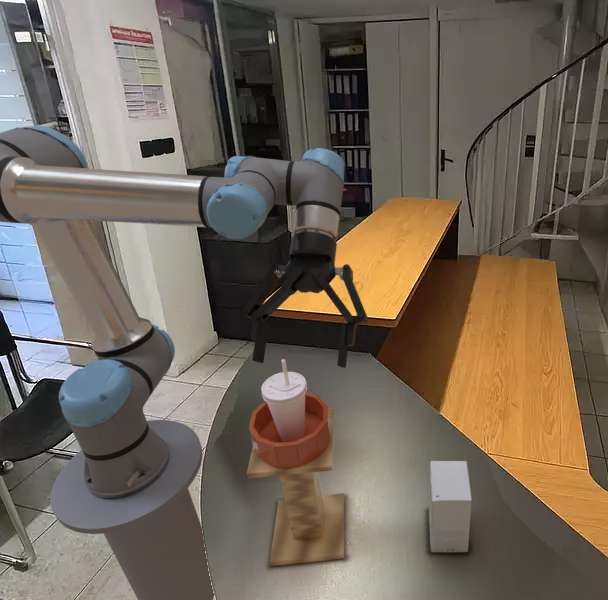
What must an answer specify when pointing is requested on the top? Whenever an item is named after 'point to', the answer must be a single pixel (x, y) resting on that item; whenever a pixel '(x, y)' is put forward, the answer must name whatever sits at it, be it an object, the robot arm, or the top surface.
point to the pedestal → (304, 511)
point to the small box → (449, 506)
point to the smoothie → (286, 403)
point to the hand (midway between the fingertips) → (299, 364)
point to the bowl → (295, 451)
